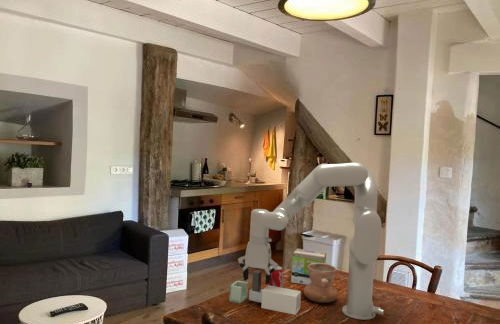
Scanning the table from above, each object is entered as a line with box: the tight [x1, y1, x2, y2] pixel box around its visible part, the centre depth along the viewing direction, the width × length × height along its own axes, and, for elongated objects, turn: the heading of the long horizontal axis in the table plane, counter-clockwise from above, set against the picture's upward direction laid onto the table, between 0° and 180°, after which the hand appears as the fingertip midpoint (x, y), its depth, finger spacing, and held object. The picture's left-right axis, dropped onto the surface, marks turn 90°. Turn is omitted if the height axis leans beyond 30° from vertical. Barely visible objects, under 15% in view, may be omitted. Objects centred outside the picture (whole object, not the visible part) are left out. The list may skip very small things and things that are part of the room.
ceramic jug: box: [303, 263, 339, 304], centre depth 172 cm, size 18×14×14 cm
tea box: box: [290, 248, 327, 286], centre depth 194 cm, size 15×10×15 cm, turn 73°
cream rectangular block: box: [261, 285, 302, 316], centre depth 160 cm, size 14×7×7 cm, turn 68°
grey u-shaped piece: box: [248, 269, 264, 304], centre depth 162 cm, size 17×4×12 cm, turn 68°
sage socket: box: [228, 280, 249, 305], centre depth 167 cm, size 5×8×6 cm, turn 158°
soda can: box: [266, 265, 285, 288], centre depth 175 cm, size 7×7×12 cm
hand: (256, 281), depth 164 cm, fingers open, 9 cm apart
